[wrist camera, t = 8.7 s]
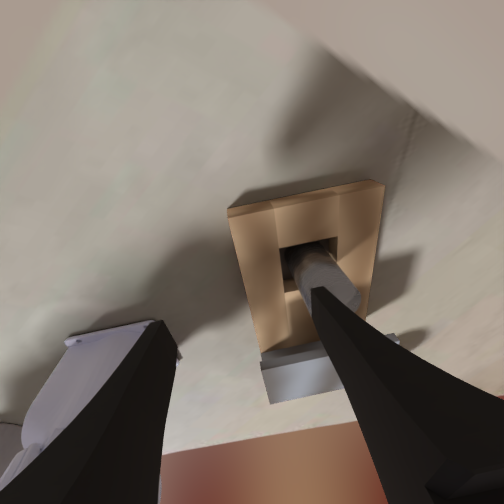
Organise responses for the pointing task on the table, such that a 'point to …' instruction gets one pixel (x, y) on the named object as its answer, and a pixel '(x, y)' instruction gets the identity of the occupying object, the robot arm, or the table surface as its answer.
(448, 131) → the table surface
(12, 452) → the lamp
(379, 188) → the socket board
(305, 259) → the peg
